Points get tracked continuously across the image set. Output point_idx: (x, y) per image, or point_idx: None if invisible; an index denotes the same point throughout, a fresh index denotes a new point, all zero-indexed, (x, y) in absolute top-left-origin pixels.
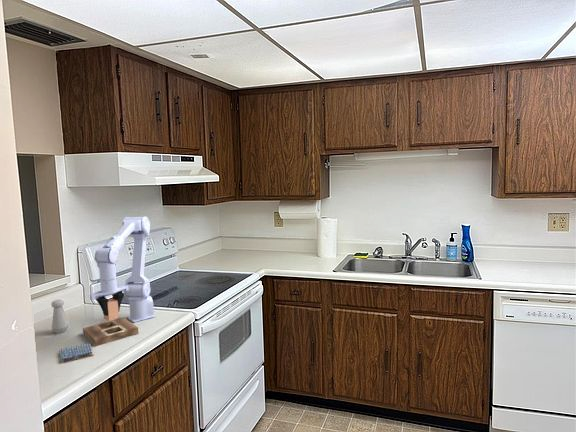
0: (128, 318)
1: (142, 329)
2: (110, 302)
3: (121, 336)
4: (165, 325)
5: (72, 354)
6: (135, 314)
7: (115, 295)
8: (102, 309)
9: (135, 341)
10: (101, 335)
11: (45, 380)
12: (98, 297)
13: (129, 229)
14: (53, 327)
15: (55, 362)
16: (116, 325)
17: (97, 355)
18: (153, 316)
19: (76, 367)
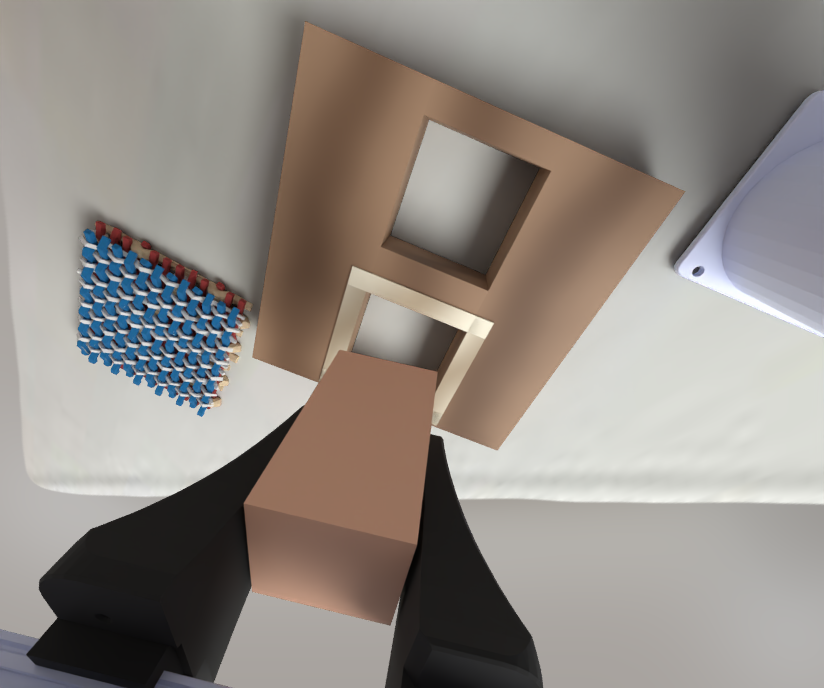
0: (775, 140)
1: (557, 403)
2: (293, 596)
3: None
4: (645, 475)
5: (126, 354)
6: (759, 272)
7: (395, 679)
8: (268, 444)
9: None
10: (308, 342)
11: (24, 400)
12: (51, 675)
13: None
14: None
15: (67, 306)
16: (481, 297)
17: (231, 417)
18: (821, 335)
19: (134, 421)
